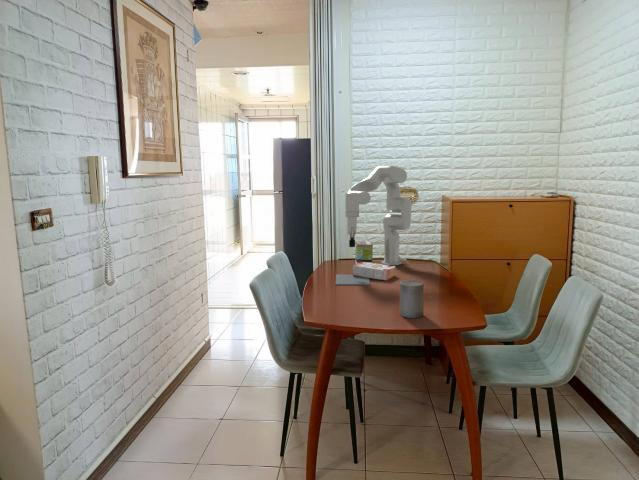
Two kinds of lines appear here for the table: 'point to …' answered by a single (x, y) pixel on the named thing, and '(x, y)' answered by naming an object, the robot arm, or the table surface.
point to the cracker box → (373, 270)
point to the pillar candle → (411, 298)
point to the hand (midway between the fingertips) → (352, 246)
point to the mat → (351, 280)
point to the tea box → (364, 251)
